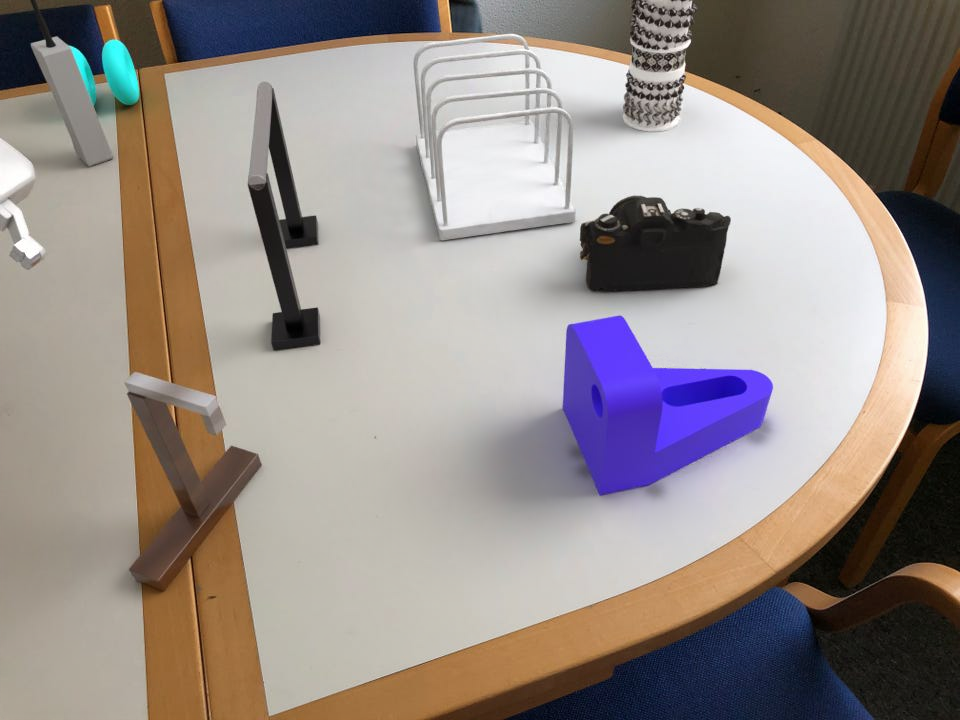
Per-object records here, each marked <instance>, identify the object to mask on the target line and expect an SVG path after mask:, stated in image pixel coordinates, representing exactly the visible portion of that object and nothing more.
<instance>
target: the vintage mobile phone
mask: <svg viewBox="0 0 960 720" xmlns="http://www.w3.org/2000/svg"><path fill="white" fill-rule="evenodd" d="M29 1H30V3H31V6H32V8H33V11H34V13H35V16H36V19H37V23H38V26H39V28H40V31H41V33H42V36H43V38H44V39H42V40H39V41H34V42H31V43H30V47H31V50H32V52H33V54H34V56H35V59H36V61H37V63H38V65H39V69H40V70H41V72H42V75H43V77H44V79H45V82H46V84H47V85H48V88H49V89H50V91H51V94H52V96H53V99H54V101H55V104H56V105H57V108H58V111H59V113H60V116H61V118H62V120H63V122H64V124H65V128H66V130H67V132H68V134H69V137H70V139H71V143H72V146H73V150H74V151H75V154H76V156H78V157H79V158H80V159H81V161H83V162H84V164H86V165H87V167H89V168H91V167H94V166H97V165H100V164H103V163H105V162H108V161H111V160H113V159H114V156H113V153H112V150H111V148H110V144H109V143H108V140H107V137H106V135H105V132H104V129H103V128H102V125H101V123H100V119H99V117H98V115H97V112H96V110H95V105H94V106H93V104H92V101H91V99H90V96H89V93H88V91H87V88H86V86H85V83H84V81H83V78H82V75H81V73H80V70H79V68H78V65H77V63H76V60H75V57H74V55H73V52H72V50H71V48H70V47H69V46H70V45H69V44H67V43H66V42H65V41H63V40H62V39H61V38H59V36H53V37H52V35H51V32H50V30H49V28H48V25H47V23H46V20H45V19H44V17H43V15H42V12H41V11H40V8H39V6H38V3H37V1H36V0H29Z"/></svg>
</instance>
